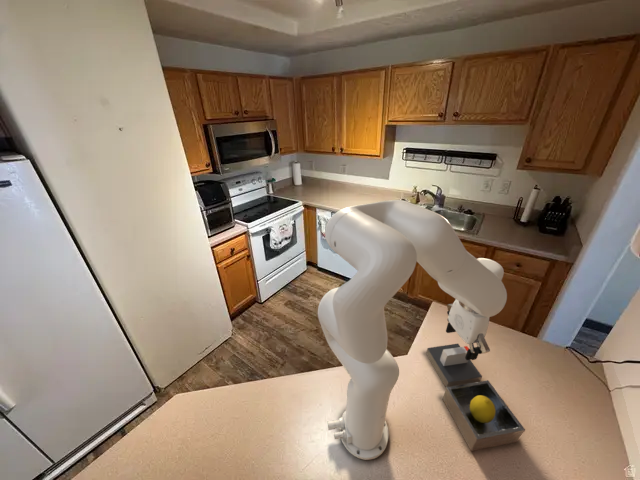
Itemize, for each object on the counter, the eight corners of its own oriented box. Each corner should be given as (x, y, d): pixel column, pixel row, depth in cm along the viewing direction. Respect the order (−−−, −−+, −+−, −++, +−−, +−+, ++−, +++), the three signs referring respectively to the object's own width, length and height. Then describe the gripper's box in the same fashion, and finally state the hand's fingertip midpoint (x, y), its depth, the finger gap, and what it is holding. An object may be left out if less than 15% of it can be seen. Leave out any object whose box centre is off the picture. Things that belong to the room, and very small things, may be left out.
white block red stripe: (443, 366, 80) (447, 355, 77) (439, 360, 82) (443, 349, 79) (467, 362, 81) (471, 351, 78) (463, 356, 83) (467, 345, 80)
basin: (470, 450, 63) (477, 439, 60) (442, 399, 74) (446, 387, 71) (517, 441, 65) (525, 429, 62) (482, 392, 76) (488, 380, 73)
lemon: (471, 402, 72) (479, 385, 69) (493, 418, 69) (503, 401, 65) (462, 416, 69) (470, 399, 66) (484, 434, 66) (494, 417, 62)
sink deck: (446, 388, 77) (448, 382, 75) (425, 353, 87) (427, 347, 86) (479, 382, 78) (482, 376, 77) (456, 349, 88) (458, 343, 87)
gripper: (443, 283, 76) (433, 324, 85) (484, 328, 61) (466, 373, 70) (467, 280, 77) (454, 321, 86) (512, 324, 62) (492, 368, 71)
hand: (460, 344), depth 78 cm, fingers open, 9 cm apart
